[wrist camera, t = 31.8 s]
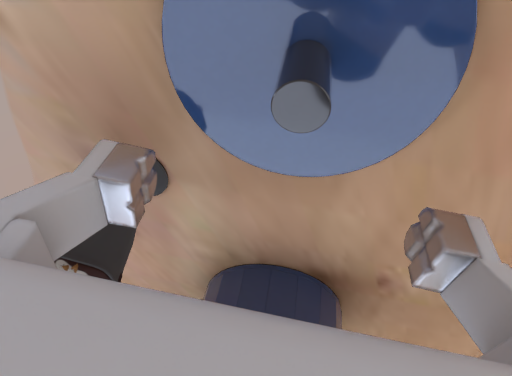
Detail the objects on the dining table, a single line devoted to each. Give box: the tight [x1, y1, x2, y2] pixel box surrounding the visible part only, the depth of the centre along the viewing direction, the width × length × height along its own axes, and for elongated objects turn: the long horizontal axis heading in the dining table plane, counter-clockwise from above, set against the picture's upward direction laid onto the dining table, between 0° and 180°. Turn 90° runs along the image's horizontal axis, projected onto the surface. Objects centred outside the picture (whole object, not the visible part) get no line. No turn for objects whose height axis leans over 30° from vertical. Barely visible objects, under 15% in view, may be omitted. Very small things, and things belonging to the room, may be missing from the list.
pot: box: [203, 264, 342, 329], centre depth 35 cm, size 15×20×8 cm
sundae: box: [54, 160, 168, 282], centre depth 22 cm, size 7×7×15 cm
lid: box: [162, 0, 477, 177], centre depth 17 cm, size 16×16×6 cm
